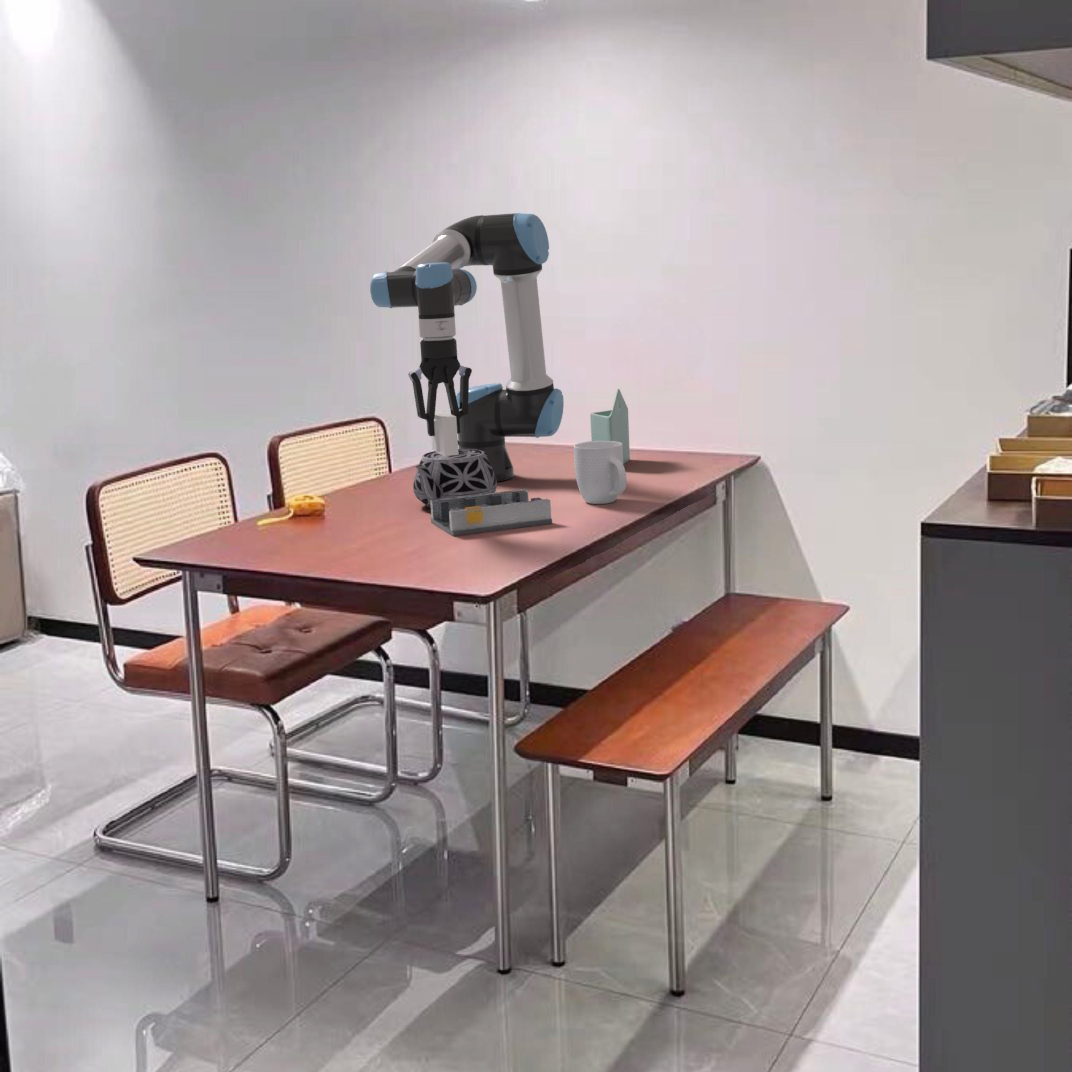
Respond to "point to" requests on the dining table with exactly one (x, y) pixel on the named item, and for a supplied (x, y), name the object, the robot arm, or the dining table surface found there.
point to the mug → (599, 470)
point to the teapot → (453, 475)
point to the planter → (612, 425)
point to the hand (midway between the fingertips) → (445, 449)
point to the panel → (447, 433)
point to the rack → (489, 512)
